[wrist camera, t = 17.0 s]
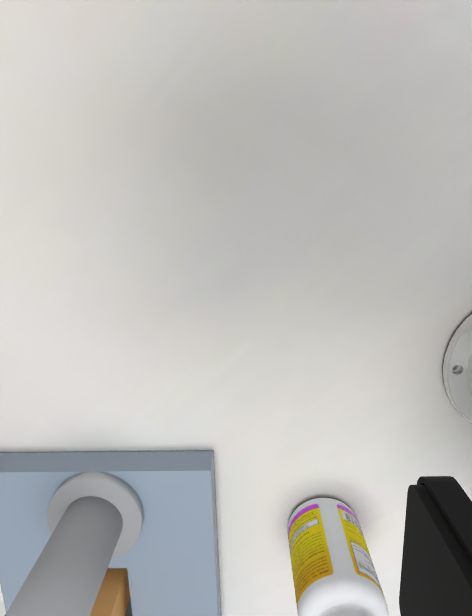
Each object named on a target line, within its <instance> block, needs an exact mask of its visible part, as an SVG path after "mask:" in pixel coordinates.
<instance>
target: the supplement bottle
mask: <svg viewBox="0 0 472 616" xmlns="http://www.w3.org/2000/svg"><path fill="white" fill-rule="evenodd" d="M288 539H289V548H290V556H291V564H292V571H293V579H294V587H295V595H296V603H297V611H298V616H388V608H387V604H386V601H385V597H384V595H383V591H382V589H381V586H380V583H379V580H378V577H377V575H376V572H375V569H374V566H373V563H372V560H371V557H370V554H369V551H368V548H367V545H366V542H365V539H364V536H363V533H362V531H361V528H360V525H359V522H358V520H357V518H356V516H355V514H354V512H353V511H352V510H351V509H350V508H349V507H348V506H347V505H345V504H344V503H342V502H340V501H338V500H335V499H331V498H316V499H312V500H309V501H306V502H305V503H303V504H301V505H300V506H299V507H298V508H297V509H296V510H295V511H294V512H293V514H292V515H291V517H290V520H289V523H288Z"/></svg>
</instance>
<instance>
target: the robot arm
mask: <svg viewBox="0 0 472 616" xmlns="http://www.w3.org/2000/svg"><path fill="white" fill-rule="evenodd" d="M454 366H455V367H454ZM453 367H454V368H453ZM443 381H444V385H445V389H446V392H447V395H448V397H449V399H450V401H451V402H452V404H453V406H454V407H455V408H456V409H457V410H458V412H459V413H460V414H461V415H462V416H463V417H464V418H465V419H466V420H467V421H469V422H470V423H471V424H472V314H471V315H470V316H469V317H467V318H466V320H465V321H464V322H463V323H462V324H461V325H460V327H459V328H458V329H457V330H456V332H455V334H454V336H453V337H452V339H451V341H450V342H449V345H448V348H447V351H446V354H445V357H444V364H443ZM399 605H400V613H401V616H472V501H471V500H470V499H469V497H468V496H467V494H466V493H465V492H464V490H463V489H462V488H461V486H460V485H459V483H458V482H457V481H456V480H455V479H454V478H453V477H451V476H430V477H420V478H419V479H418V481H417V485H410V486H409V488H408V495H407V507H406V520H405V532H404V545H403V558H402V570H401V583H400V595H399Z"/></svg>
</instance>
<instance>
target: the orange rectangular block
mask: <svg viewBox="0 0 472 616" xmlns="http://www.w3.org/2000/svg"><path fill="white" fill-rule="evenodd" d="M129 601H130V589H129V580H128V571H127V568H107V571H106V574H105V576H104V579H103V582H102V584H101V587H100V590H99V592H98V595H97V598H96V600H95V603H94V605H93V608H92V611H91V613H90V616H125V614H126V611H127V607H128V604H129Z"/></svg>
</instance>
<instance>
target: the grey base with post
mask: <svg viewBox="0 0 472 616" xmlns="http://www.w3.org/2000/svg"><path fill="white" fill-rule="evenodd" d="M107 568H127V571H128V580H129V589H130V601H129V604H128V607H127V611H126V614H125V616H221V601H220V580H219V559H218V538H217V517H216V495H215V474H214V453H213V451H110V452H6V453H0V584H1V589H2V594H3V599H4V604H5V609H6V614H5V616H90V613H91V611H92V608H93V605H94V603H95V600H96V598H97V595H98V592H99V590H100V587H101V584H102V582H103V579H104V576H105V574H106V571H107Z"/></svg>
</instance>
